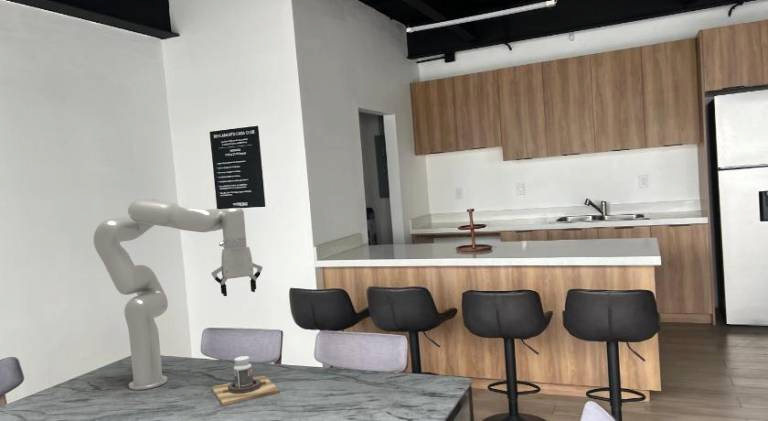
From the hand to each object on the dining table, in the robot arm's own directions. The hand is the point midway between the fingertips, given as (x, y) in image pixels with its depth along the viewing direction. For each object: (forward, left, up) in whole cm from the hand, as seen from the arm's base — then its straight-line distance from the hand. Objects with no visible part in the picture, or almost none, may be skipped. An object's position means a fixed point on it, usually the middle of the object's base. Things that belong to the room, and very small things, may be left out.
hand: (239, 293), depth 198 cm
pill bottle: (+11, -3, -30) cm, 32 cm away
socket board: (+11, -3, -30) cm, 32 cm away
